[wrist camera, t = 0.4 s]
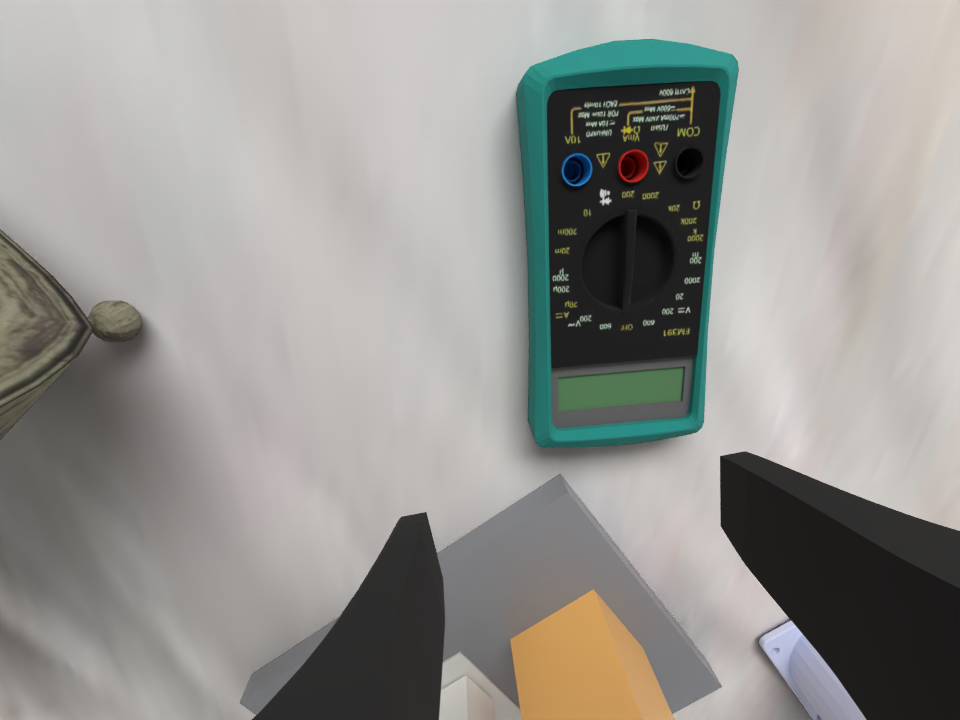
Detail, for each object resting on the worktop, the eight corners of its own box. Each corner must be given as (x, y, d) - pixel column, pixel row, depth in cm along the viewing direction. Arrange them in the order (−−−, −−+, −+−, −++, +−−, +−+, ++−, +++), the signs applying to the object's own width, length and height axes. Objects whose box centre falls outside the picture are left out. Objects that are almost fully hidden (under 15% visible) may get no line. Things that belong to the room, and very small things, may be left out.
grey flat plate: (707, 661, 27) (730, 701, 25) (434, 812, 30) (433, 860, 28) (560, 473, 22) (572, 503, 20) (251, 674, 25) (232, 719, 23)
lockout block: (642, 647, 24) (702, 783, 19) (562, 693, 25) (597, 837, 19) (593, 589, 23) (642, 718, 17) (510, 639, 23) (530, 778, 18)
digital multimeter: (707, 54, 17) (756, 26, 15) (678, 414, 22) (711, 444, 19) (512, 65, 17) (524, 39, 14) (526, 427, 22) (537, 459, 19)
